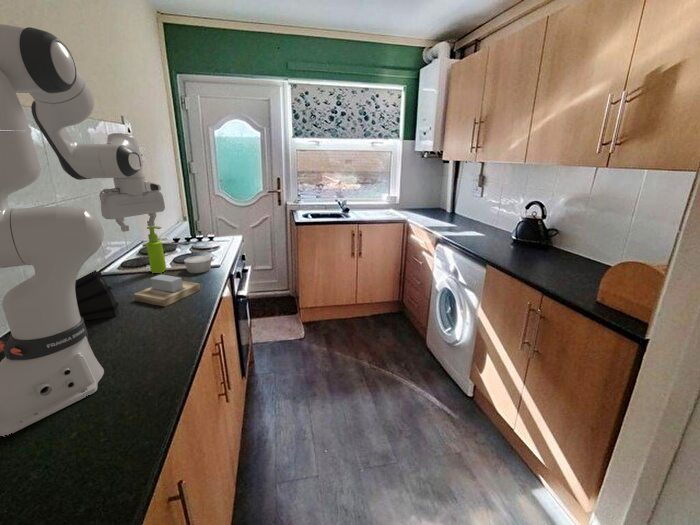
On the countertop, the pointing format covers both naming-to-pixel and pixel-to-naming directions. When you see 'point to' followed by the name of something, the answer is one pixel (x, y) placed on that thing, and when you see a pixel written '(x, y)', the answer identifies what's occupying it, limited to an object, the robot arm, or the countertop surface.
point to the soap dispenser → (155, 252)
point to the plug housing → (166, 283)
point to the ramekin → (198, 264)
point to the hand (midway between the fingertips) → (138, 228)
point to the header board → (166, 294)
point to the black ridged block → (95, 297)
